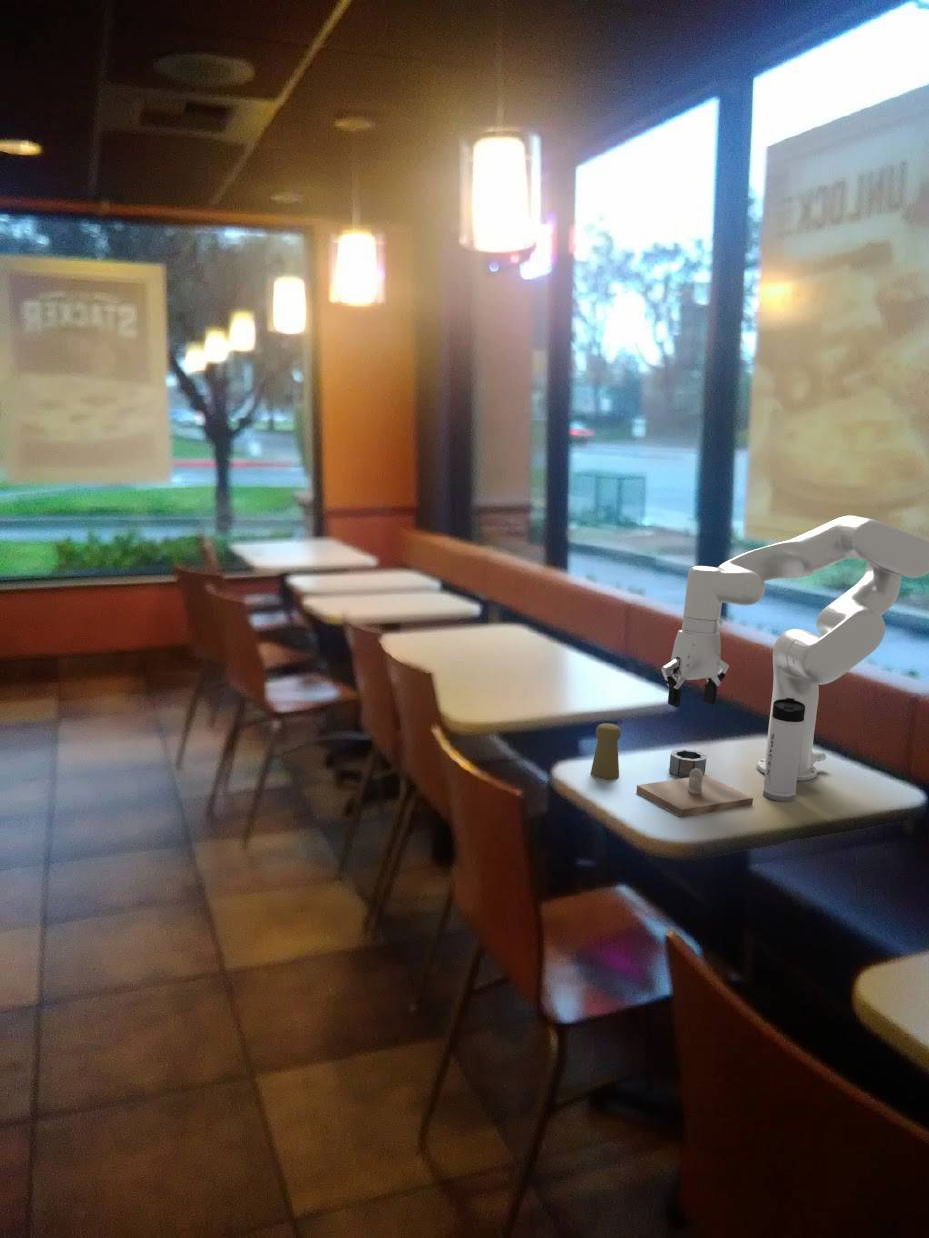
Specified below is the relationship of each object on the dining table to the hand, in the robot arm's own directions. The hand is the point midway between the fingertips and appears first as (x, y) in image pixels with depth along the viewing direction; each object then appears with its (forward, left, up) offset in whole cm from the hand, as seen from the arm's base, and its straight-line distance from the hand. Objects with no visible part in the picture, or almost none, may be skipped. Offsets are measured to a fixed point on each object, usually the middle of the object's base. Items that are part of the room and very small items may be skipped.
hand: (691, 704), depth 218 cm
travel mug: (-9, +18, -16) cm, 26 cm away
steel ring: (0, 0, -15) cm, 15 cm away
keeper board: (+9, +13, -15) cm, 22 cm away
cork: (+18, -5, -16) cm, 24 cm away
